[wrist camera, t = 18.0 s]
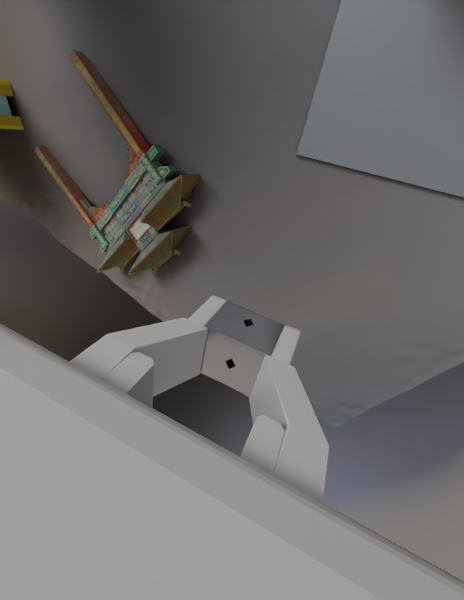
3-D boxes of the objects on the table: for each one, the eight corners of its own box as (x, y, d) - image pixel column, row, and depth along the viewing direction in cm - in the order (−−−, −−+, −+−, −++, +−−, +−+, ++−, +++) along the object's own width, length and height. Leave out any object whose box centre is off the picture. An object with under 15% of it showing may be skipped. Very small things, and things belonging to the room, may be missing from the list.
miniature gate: (72, 13, 33) (212, 221, 36) (108, 32, 37) (230, 215, 41) (18, 167, 49) (119, 303, 52) (49, 167, 53) (140, 292, 56)
